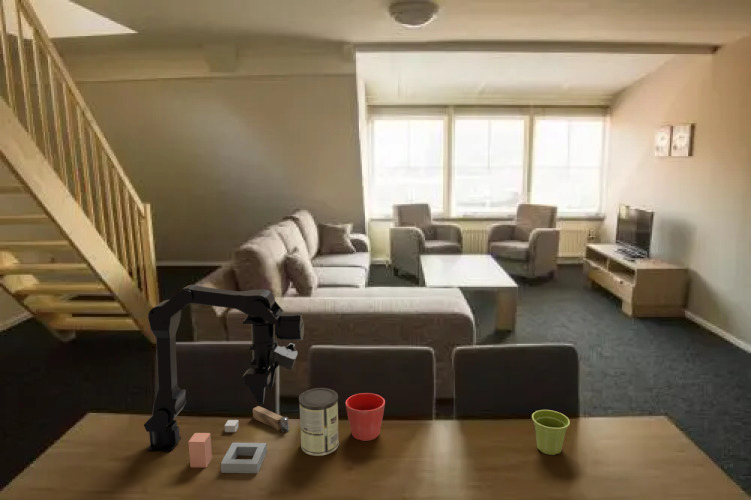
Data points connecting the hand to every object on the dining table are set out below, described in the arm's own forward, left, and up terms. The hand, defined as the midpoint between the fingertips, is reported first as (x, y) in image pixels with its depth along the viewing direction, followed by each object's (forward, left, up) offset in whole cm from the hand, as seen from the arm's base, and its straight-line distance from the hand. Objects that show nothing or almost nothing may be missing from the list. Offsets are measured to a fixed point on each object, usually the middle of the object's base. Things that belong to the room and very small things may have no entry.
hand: (265, 395), depth 128 cm
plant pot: (+75, +1, -15) cm, 76 cm away
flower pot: (+26, +7, -15) cm, 30 cm away
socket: (-4, -7, -14) cm, 17 cm away
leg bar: (-3, +12, -15) cm, 19 cm away
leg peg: (-15, -8, -15) cm, 22 cm away
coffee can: (+14, +1, -15) cm, 20 cm away
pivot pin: (+3, +8, -14) cm, 17 cm away
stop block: (-12, +8, -14) cm, 21 cm away
